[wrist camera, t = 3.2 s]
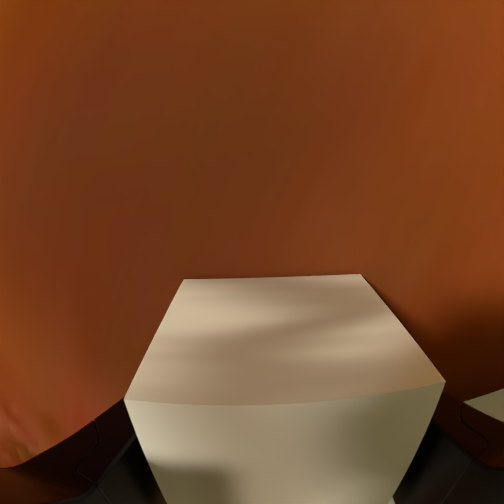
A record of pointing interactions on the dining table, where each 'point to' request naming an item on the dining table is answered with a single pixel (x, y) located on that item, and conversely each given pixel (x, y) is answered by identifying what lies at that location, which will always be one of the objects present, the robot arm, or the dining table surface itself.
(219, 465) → the birch cube
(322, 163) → the dining table surface
